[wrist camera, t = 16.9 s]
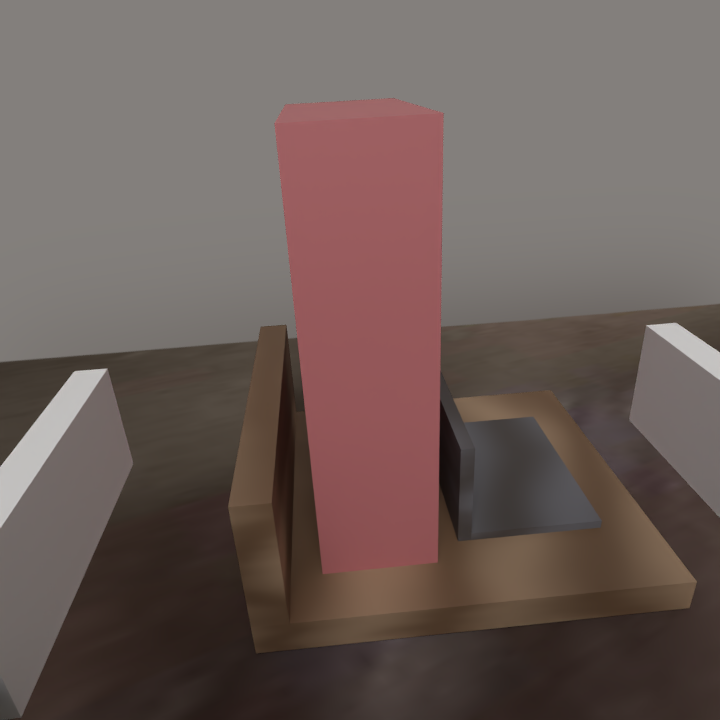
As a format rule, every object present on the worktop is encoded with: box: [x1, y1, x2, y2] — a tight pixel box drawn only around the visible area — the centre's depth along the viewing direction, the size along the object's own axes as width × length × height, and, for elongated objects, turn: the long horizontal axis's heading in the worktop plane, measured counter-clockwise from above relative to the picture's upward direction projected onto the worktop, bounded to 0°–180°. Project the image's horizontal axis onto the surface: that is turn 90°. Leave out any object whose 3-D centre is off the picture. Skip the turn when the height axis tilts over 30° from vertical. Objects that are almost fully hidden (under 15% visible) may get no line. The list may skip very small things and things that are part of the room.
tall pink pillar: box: [275, 98, 443, 574], centre depth 26 cm, size 5×11×18 cm, turn 5°
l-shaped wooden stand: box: [228, 325, 697, 653], centre depth 30 cm, size 18×16×8 cm
